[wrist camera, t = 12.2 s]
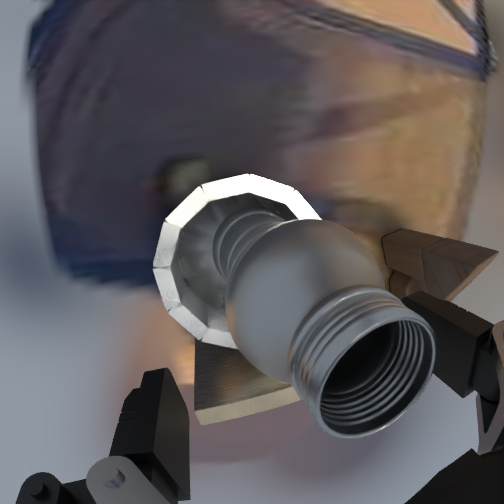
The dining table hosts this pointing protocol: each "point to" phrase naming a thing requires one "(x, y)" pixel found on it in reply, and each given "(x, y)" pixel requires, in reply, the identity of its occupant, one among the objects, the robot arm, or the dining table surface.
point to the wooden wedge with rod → (432, 263)
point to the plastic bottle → (322, 319)
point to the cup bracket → (218, 294)
